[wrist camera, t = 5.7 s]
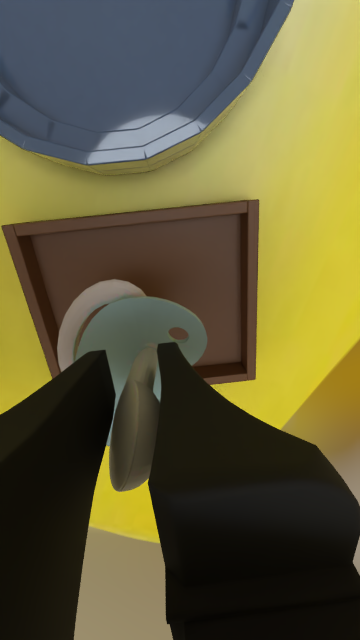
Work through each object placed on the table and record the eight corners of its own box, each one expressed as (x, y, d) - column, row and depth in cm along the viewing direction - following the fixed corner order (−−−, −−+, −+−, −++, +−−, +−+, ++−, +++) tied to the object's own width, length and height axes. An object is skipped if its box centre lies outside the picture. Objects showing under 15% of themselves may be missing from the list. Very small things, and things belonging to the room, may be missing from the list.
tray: (69, 384, 20) (60, 402, 18) (19, 223, 16) (0, 225, 14) (247, 364, 20) (255, 379, 18) (248, 199, 16) (259, 199, 14)
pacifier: (51, 384, 14) (161, 422, 14) (-52, 512, 8) (137, 567, 9) (85, 248, 11) (220, 302, 12) (-37, 296, 5) (243, 399, 6)
